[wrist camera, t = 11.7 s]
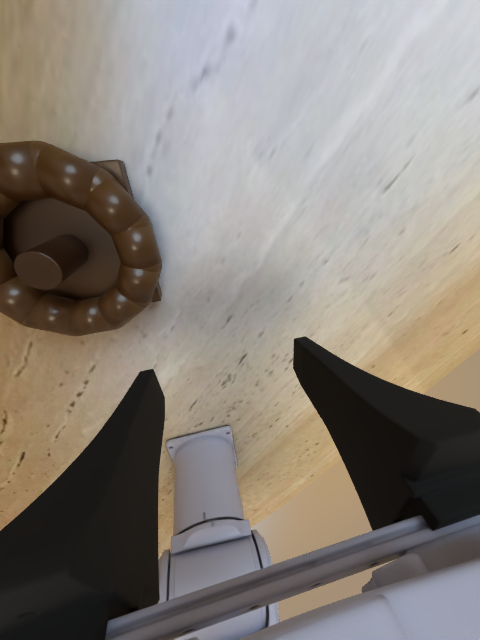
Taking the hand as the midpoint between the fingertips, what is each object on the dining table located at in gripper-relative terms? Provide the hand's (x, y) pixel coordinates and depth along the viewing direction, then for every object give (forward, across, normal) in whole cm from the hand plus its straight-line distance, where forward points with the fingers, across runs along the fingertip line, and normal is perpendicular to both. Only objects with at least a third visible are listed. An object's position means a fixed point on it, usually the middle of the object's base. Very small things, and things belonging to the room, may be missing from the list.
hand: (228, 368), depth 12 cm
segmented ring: (+7, +8, -5) cm, 12 cm away
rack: (+9, +8, -5) cm, 14 cm away
